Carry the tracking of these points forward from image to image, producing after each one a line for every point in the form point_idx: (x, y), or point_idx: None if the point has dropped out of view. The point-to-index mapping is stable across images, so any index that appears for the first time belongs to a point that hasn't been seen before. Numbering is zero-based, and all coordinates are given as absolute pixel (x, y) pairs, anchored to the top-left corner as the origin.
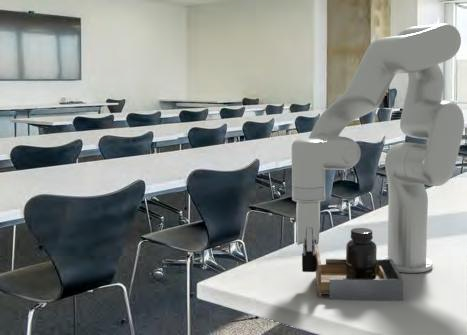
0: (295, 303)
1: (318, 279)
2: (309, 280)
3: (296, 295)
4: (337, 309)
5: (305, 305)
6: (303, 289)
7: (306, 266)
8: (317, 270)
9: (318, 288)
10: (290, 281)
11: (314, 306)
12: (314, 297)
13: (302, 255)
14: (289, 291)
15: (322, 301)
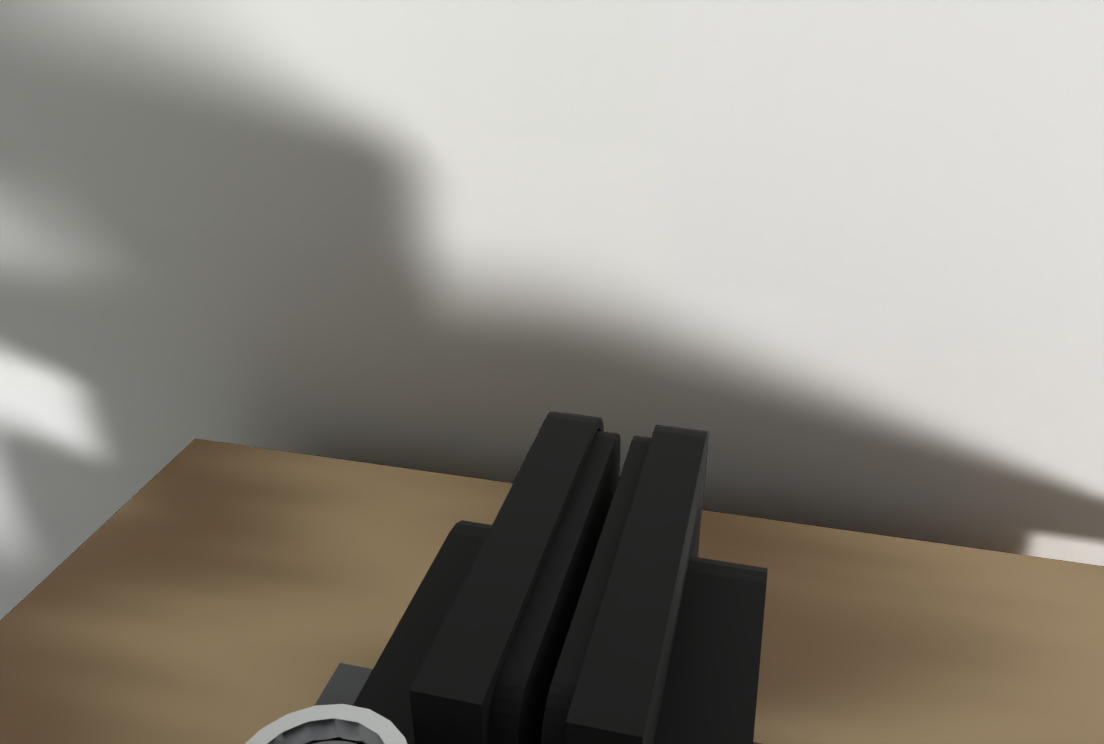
0: (21, 102)
1: (39, 588)
2: (1021, 414)
3: (310, 136)
4: (17, 536)
5: (3, 231)
6: (575, 267)
7: (449, 555)
8: (337, 680)
9: (136, 496)
10: (1030, 59)
11: (11, 332)
12: (283, 375)
13: (417, 691)
14: (469, 23)
15: (179, 442)
